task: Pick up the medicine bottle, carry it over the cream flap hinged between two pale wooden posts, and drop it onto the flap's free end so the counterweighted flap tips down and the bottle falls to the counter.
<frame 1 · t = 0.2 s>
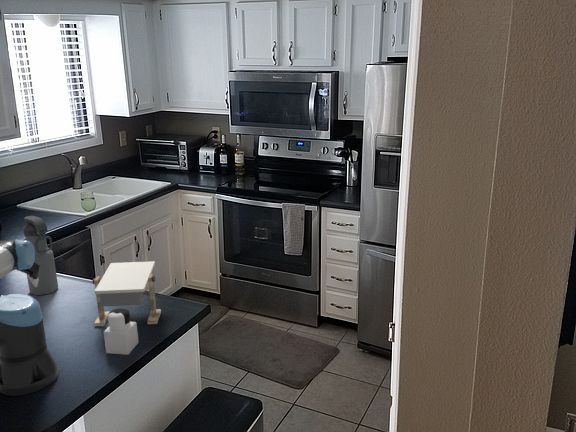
hand: (14, 284, 170), 15 cm above the counter, tool tilted 35°, fingers open, 13 cm apart
water bottle: (44, 290, 202), on the counter
trapdoor flap: (127, 282, 179), point 11 cm above the counter, hinge at 2.0°
flap stand: (128, 319, 179), on the counter
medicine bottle: (122, 348, 162), on the counter
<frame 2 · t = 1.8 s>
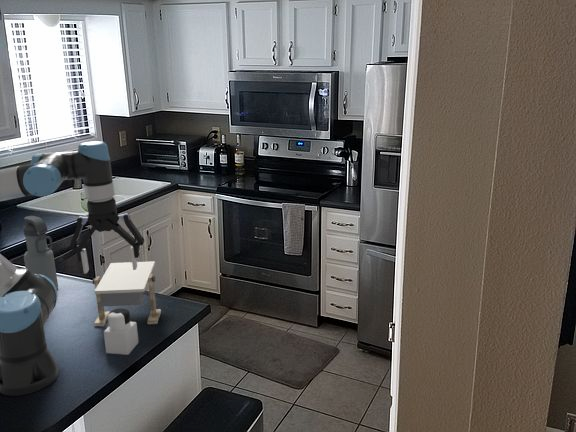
hand: (111, 270, 156), 24 cm above the counter, tool pointing down, fingers open, 13 cm apart
nothing on the counter moved.
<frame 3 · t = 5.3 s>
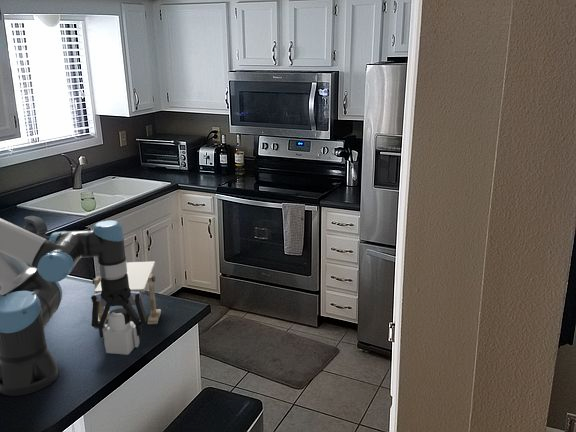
hand: (122, 345, 162), 1 cm above the counter, tool pointing down, fingers closed on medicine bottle, 8 cm apart
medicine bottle: (122, 348, 162), on the counter, touching gripper
everything else where it was.
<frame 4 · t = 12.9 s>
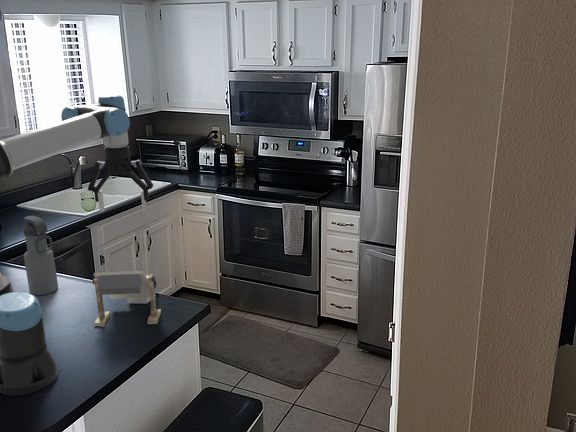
hand: (123, 210, 178), 34 cm above the counter, tool pointing down, fingers open, 13 cm apart
trapdoor flap: (125, 291, 177), point 10 cm above the counter, hinge at -45.4°, touching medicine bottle
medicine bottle: (136, 294, 188), point 4 cm above the counter, touching trapdoor flap
everything else where it was.
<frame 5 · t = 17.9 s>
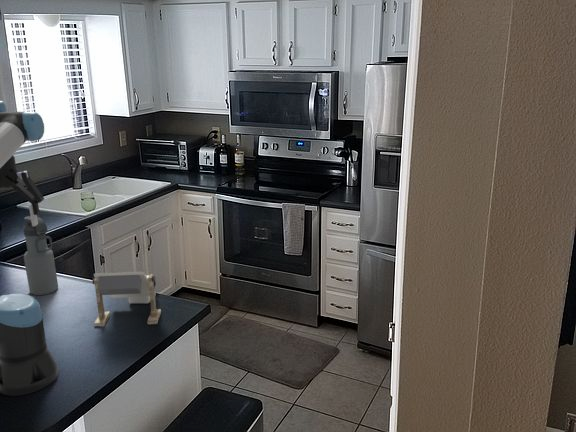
hand: (11, 225, 163), 35 cm above the counter, tool pointing down, fingers open, 13 cm apart
trapdoor flap: (126, 291, 177), point 10 cm above the counter, hinge at -43.6°, touching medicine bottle
everything else where it was.
at the end: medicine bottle inside the target area (2.7 cm from its centre), point 4.2 cm above the counter; the gripper is holding nothing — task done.
